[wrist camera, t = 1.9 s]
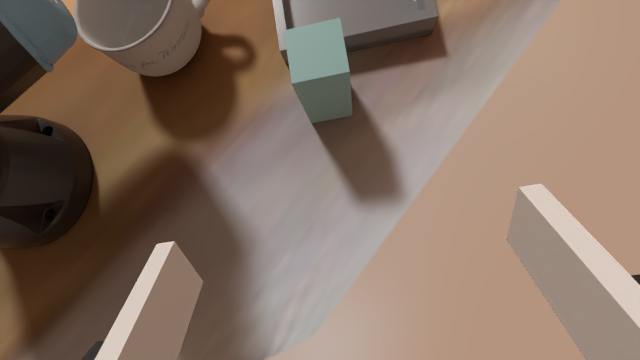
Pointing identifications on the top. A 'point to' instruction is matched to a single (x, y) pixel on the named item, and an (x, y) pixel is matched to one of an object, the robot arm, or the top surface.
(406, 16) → the tray
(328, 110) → the teal block
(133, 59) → the teacup
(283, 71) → the top surface
